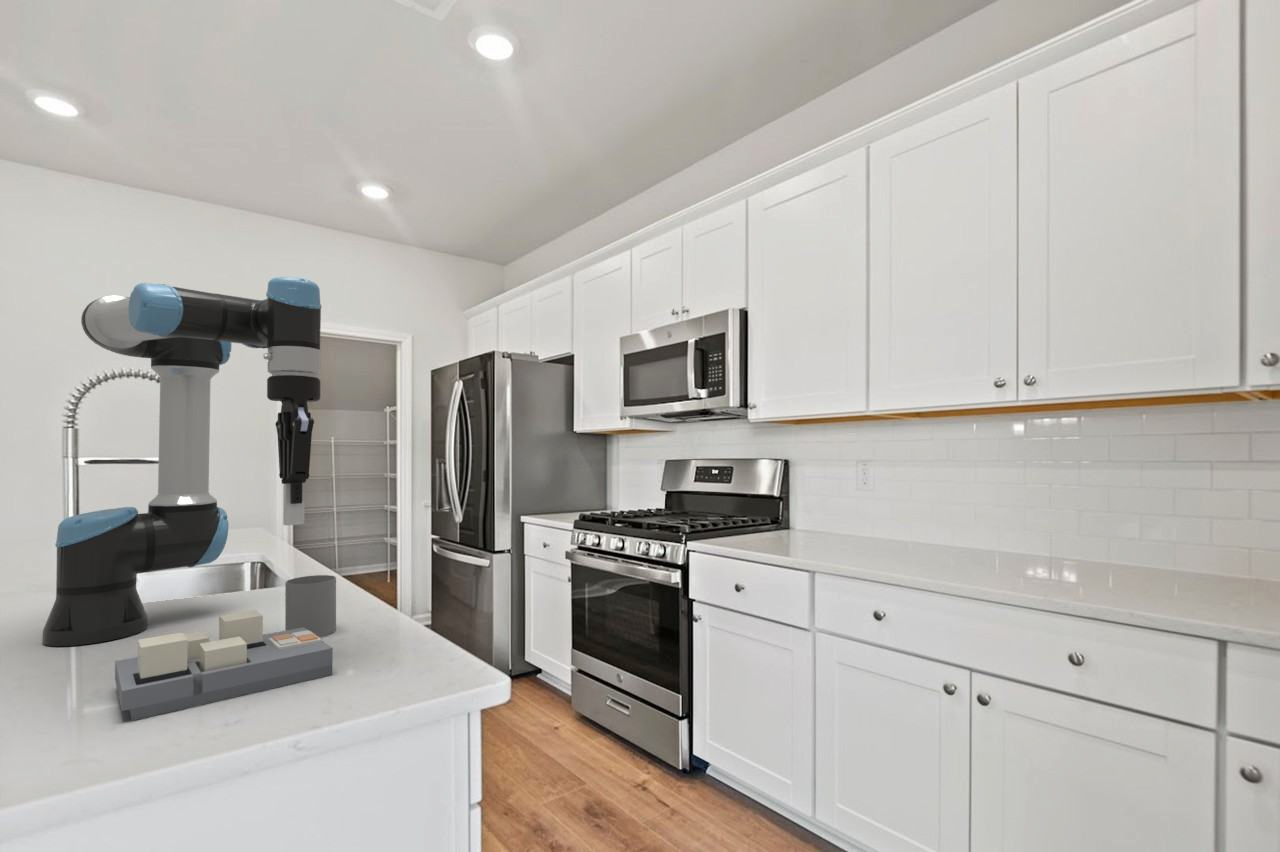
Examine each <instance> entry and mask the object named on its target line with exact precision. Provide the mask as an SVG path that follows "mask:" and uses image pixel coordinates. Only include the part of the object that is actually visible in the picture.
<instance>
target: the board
mask: <svg viewBox="0 0 1280 852" xmlns="http://www.w3.org/2000/svg"><path fill="white" fill-rule="evenodd" d="M329 676H333V647H331V646H330V645H329V644H328V643H326V642H324V640H322V637H320V638H319V637H318V636H316V635H315V634H314V633H312V632H311V631H309V630H307V629H305V628H304V627H303V628H297V629H292V630H286V631H285V630H281V631H276V632H275V631H274V632H270V633H265V634H264V633H263V642H257V643H252V644H247V663H245V664H240V665H235V666H230V667H225V668H220V669H215V670H210V671H205V672H201V671H200V670H199V658H198V659H193V660H187V670H183V671H177V672H172V673H167V674H162V675H157V676H152V677H147V678H142V679H141V678H140V675H139V672H138V656H137V657H131V658H130V657H129V658H125V659H120V660H119V659H118V660H115V661H114V681H115V685H116V690H117V694H118V695H117V696H118V700H119V703H120V704H119V705H120V709H121V711H122V712H123V711H124V712H125V711H129V716H130V719H131V721H132V722H133V721H136V720H140V719H141V720H142V719H145V718H150V717H154V716H159V715H163V714H168V713H172V712H176V711H179V710H184V709H189V708H194V707H198V706H202V705H205V704H211V703H215V702H219V701H224V700H228V699H233V698H238V697H241V696H246V695H247V696H248V695H251V694H255V693H259V692H263V691H269V690H273V689H277V688H282V687H285V686H289V685H293V684H298V683H302V682H303V683H304V682H307V681H311V680H316V679H320V678H325V677H329Z"/></svg>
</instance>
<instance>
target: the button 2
mask: <svg viewBox="0 0 1280 852" xmlns="http://www.w3.org/2000/svg"><path fill="white" fill-rule="evenodd" d="M183 634H184V635H185V637H186V638H187V660H193V659H198V658H199V644H200V643H206V642H210V637H209V636H208V634H207V633H206V632H205V630H202V631H195V632H191V633H183Z"/></svg>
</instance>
